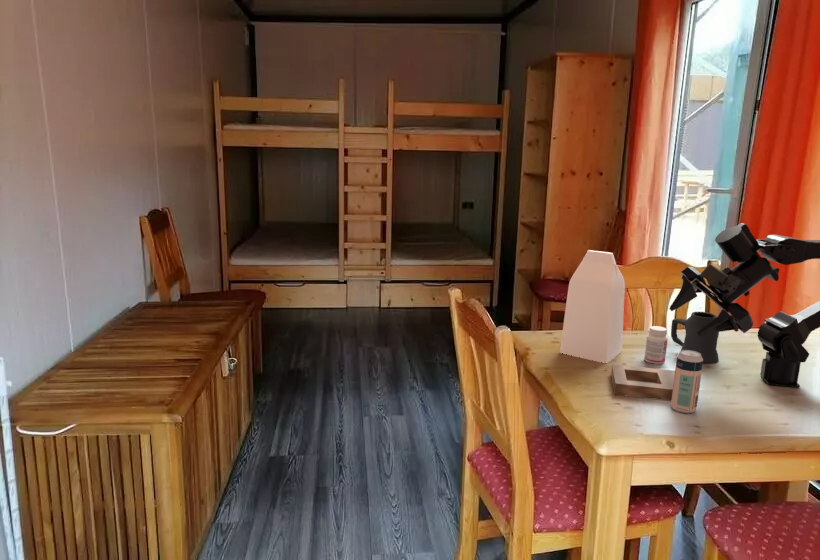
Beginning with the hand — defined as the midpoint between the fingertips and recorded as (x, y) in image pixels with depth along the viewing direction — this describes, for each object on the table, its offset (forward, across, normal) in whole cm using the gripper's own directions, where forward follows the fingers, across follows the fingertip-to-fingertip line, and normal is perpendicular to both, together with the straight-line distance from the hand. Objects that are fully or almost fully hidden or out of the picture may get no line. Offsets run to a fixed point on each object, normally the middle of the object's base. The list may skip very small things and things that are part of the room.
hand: (683, 321), depth 138 cm
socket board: (+15, +7, +2) cm, 17 cm away
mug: (+1, -6, +24) cm, 24 cm away
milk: (+20, -15, +10) cm, 27 cm away
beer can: (+13, +17, -2) cm, 22 cm away
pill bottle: (+9, -6, +15) cm, 19 cm away
